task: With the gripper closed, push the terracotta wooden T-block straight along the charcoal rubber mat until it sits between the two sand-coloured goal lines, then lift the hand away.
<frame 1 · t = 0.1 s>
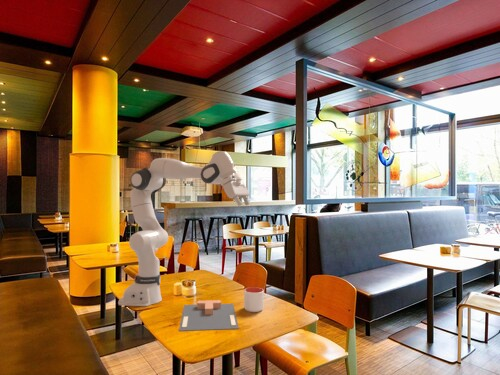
hand: (244, 205, 157), 54 cm above the table, tool tilted 30°, fingers open, 8 cm apart
t block: (209, 310, 163), resting on mat
cup: (253, 309, 166), on the table
mat: (209, 315, 156), on the table
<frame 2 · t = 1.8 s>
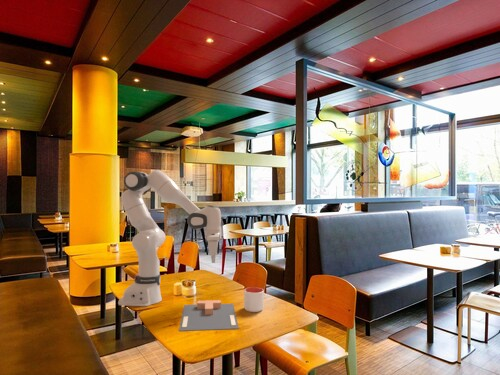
hand: (213, 260, 174), 23 cm above the table, tool pointing down, fingers open, 8 cm apart
nothing on the table moved.
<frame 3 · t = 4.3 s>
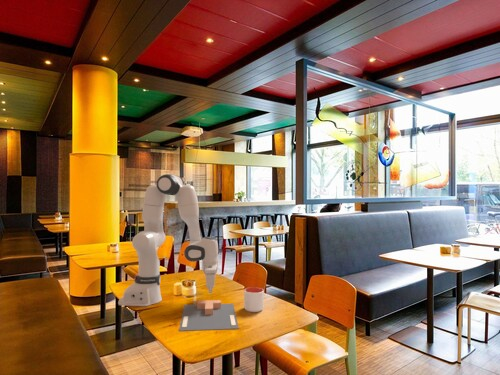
hand: (210, 292, 175), 6 cm above the table, tool pointing down, fingers closed
nothing on the table moved.
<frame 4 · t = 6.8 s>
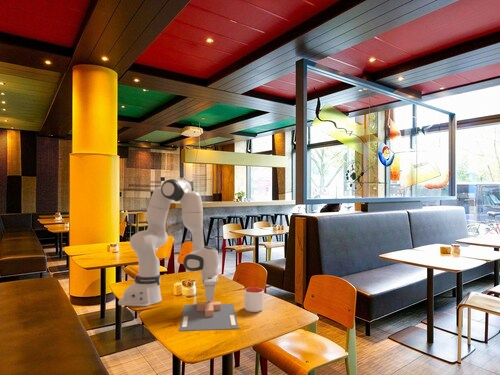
hand: (209, 304, 168), 2 cm above the table, tool pointing down, fingers closed
t block: (209, 312, 160), resting on mat, touching gripper
everything else where it was.
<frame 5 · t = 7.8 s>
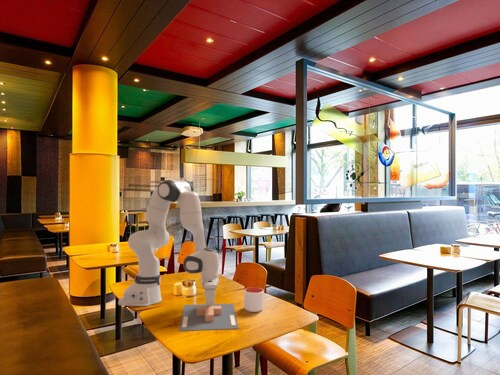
hand: (209, 308, 162), 2 cm above the table, tool pointing down, fingers closed
t block: (209, 316, 154), resting on mat, touching gripper
everything else where it was.
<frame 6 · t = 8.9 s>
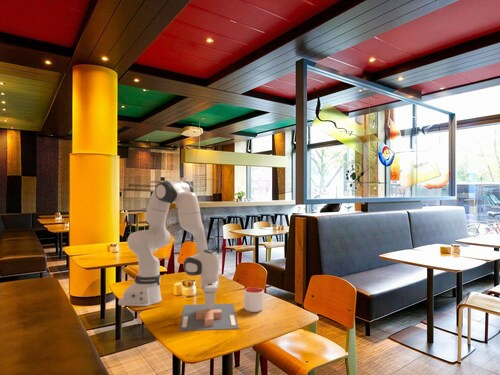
hand: (209, 311, 157), 2 cm above the table, tool pointing down, fingers closed
t block: (208, 320, 150), resting on mat, touching gripper
everything else where it was.
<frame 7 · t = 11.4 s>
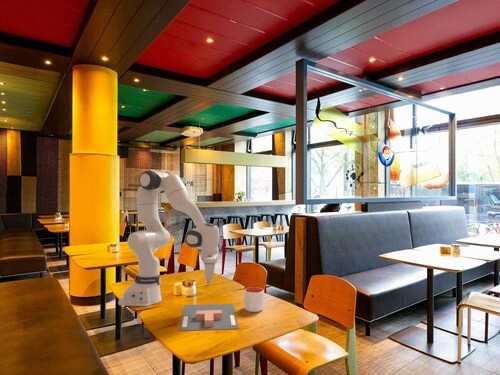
hand: (208, 283, 161), 14 cm above the table, tool pointing down, fingers closed
t block: (208, 321, 148), resting on mat
everything else where it was.
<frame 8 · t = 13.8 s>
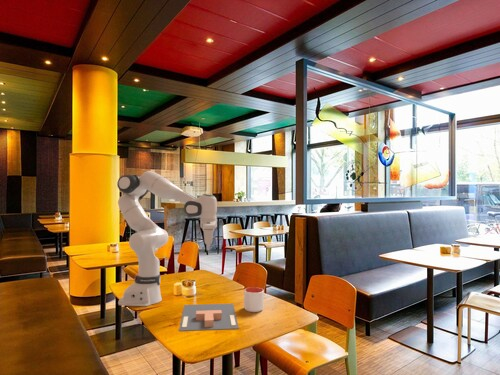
hand: (208, 249, 173), 29 cm above the table, tool pointing down, fingers closed
nothing on the table moved.
at the end: t block inside the target area on the mat (0.4 cm from its centre), point 0.2 cm above the mat's base; t block tilted 0°; t block moved 14.4 cm from its start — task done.
